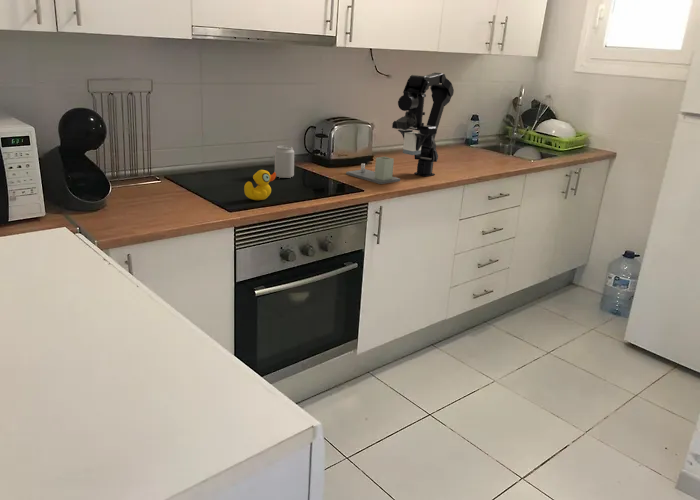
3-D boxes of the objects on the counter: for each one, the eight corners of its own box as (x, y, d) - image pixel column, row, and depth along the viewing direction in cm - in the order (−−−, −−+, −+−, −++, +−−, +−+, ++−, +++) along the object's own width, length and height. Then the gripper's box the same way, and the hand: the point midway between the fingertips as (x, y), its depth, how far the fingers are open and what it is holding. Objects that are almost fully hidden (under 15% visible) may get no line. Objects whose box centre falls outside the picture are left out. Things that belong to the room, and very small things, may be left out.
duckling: (271, 196, 200) (272, 167, 197) (279, 199, 196) (279, 170, 193) (241, 199, 194) (241, 169, 190) (248, 203, 190) (248, 173, 186)
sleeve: (411, 151, 234) (413, 131, 232) (420, 154, 231) (422, 133, 228) (402, 152, 231) (404, 132, 228) (412, 155, 228) (414, 134, 225)
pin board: (365, 171, 246) (366, 150, 243) (399, 181, 233) (401, 158, 229) (346, 174, 239) (347, 152, 236) (380, 184, 225) (382, 161, 222)
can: (290, 180, 224) (291, 149, 220) (271, 178, 225) (272, 147, 221) (296, 176, 231) (296, 145, 227) (278, 174, 232) (278, 144, 228)
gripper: (384, 107, 226) (381, 147, 232) (420, 112, 214) (416, 155, 219) (403, 106, 234) (400, 145, 239) (439, 111, 221) (435, 152, 226)
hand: (412, 149), depth 230 cm, fingers closed on sleeve, 5 cm apart
